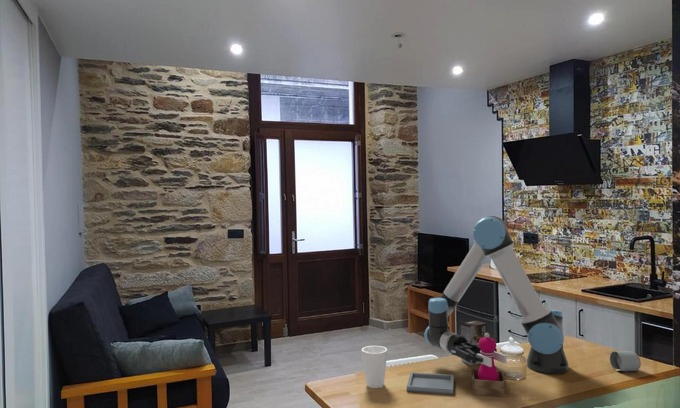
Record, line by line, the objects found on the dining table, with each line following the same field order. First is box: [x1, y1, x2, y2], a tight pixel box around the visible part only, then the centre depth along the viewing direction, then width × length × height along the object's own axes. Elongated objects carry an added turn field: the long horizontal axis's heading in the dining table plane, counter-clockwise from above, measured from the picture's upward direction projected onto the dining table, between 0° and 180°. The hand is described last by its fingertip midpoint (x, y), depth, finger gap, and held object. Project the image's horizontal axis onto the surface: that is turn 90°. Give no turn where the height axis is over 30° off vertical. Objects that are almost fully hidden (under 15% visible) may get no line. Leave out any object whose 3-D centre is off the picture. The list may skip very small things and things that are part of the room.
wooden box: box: [471, 368, 507, 398], centre depth 166 cm, size 11×11×5 cm
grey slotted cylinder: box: [609, 350, 642, 372], centre depth 182 cm, size 11×8×8 cm
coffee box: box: [459, 320, 488, 366], centre depth 194 cm, size 9×6×16 cm
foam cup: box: [361, 345, 388, 389], centre depth 172 cm, size 10×9×13 cm
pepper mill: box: [478, 332, 499, 381], centre depth 166 cm, size 7×7×20 cm
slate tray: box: [406, 372, 455, 396], centre depth 171 cm, size 16×14×2 cm
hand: (498, 361), depth 161 cm, fingers open, 6 cm apart
